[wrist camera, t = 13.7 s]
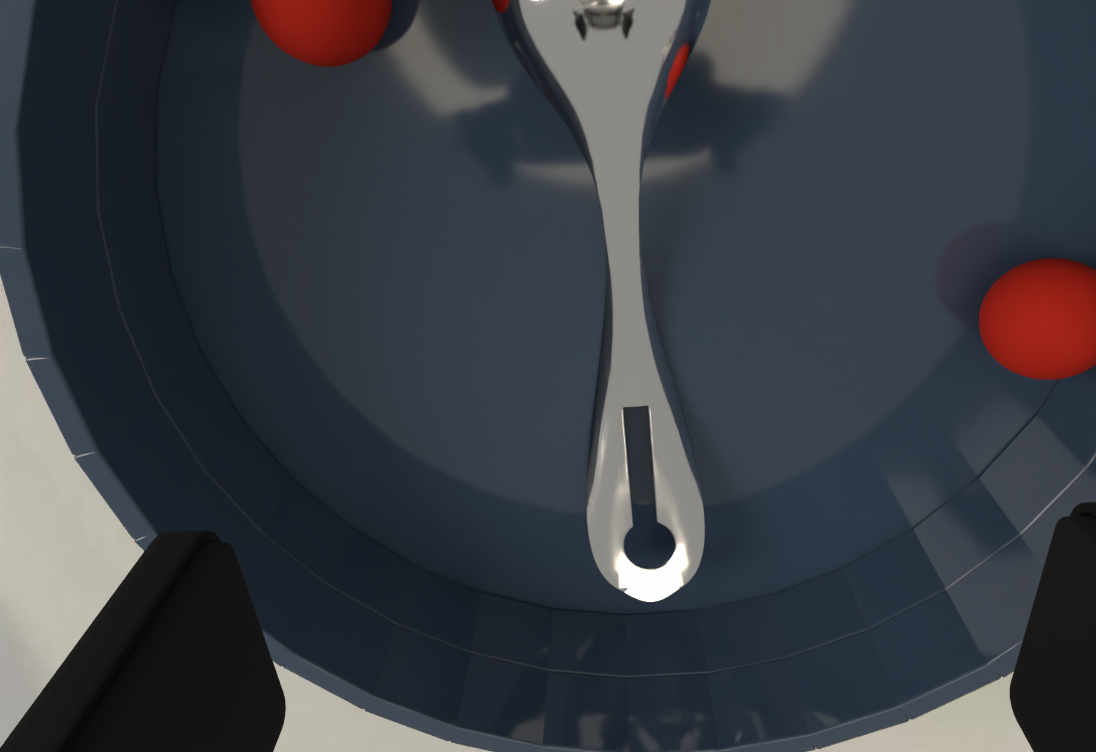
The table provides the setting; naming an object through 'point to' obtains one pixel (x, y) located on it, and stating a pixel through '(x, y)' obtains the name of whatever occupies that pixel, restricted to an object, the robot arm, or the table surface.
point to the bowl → (567, 350)
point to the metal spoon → (622, 254)
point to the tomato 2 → (1042, 319)
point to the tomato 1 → (324, 28)
